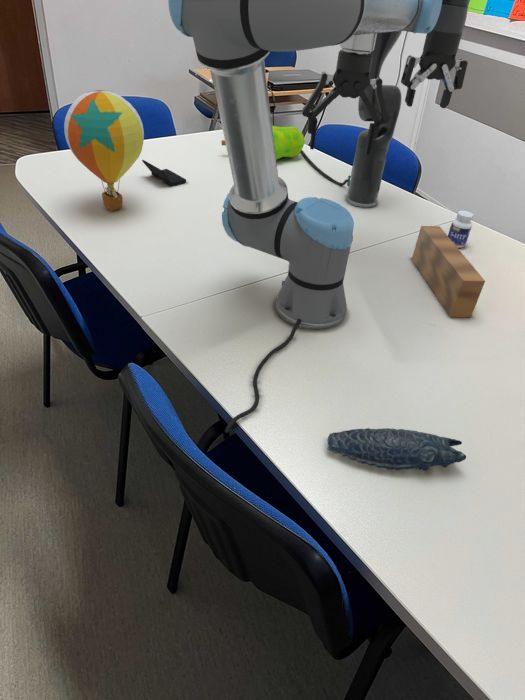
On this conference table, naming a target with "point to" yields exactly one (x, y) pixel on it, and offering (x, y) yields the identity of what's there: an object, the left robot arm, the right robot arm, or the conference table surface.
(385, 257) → the conference table surface
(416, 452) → the fish model
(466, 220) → the pill bottle
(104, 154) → the toy
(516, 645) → the conference table surface
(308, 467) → the conference table surface
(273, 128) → the decorative tree
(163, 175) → the black angled flat piece
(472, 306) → the bar
